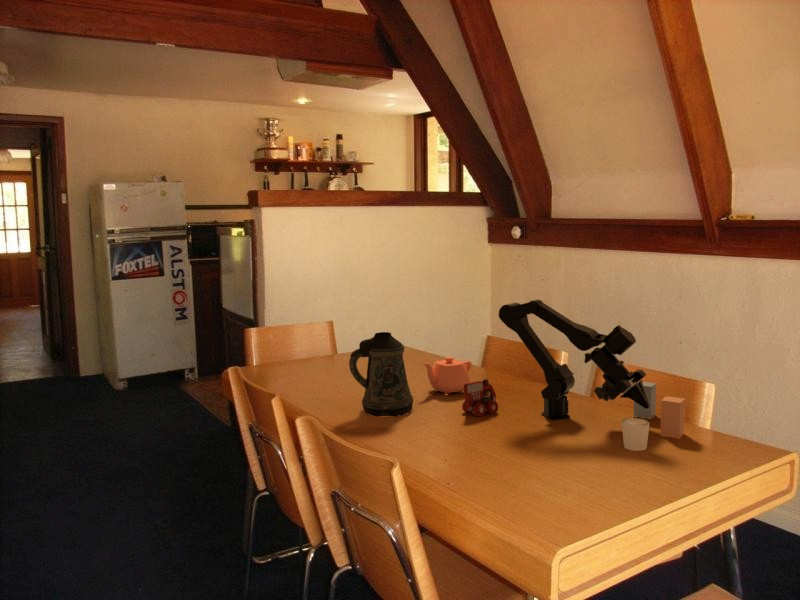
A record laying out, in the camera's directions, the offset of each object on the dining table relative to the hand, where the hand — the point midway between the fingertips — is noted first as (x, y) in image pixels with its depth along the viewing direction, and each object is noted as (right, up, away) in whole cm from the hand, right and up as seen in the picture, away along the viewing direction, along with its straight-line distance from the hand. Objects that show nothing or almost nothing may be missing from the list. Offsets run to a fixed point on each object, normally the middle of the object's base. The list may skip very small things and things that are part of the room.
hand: (648, 407), depth 191 cm
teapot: (-53, -2, +49) cm, 72 cm away
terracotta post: (+6, -7, -3) cm, 9 cm away
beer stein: (-75, -5, +26) cm, 79 cm away
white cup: (-8, -9, -12) cm, 17 cm away
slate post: (+4, -5, +15) cm, 16 cm away
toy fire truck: (-44, -5, +22) cm, 50 cm away
